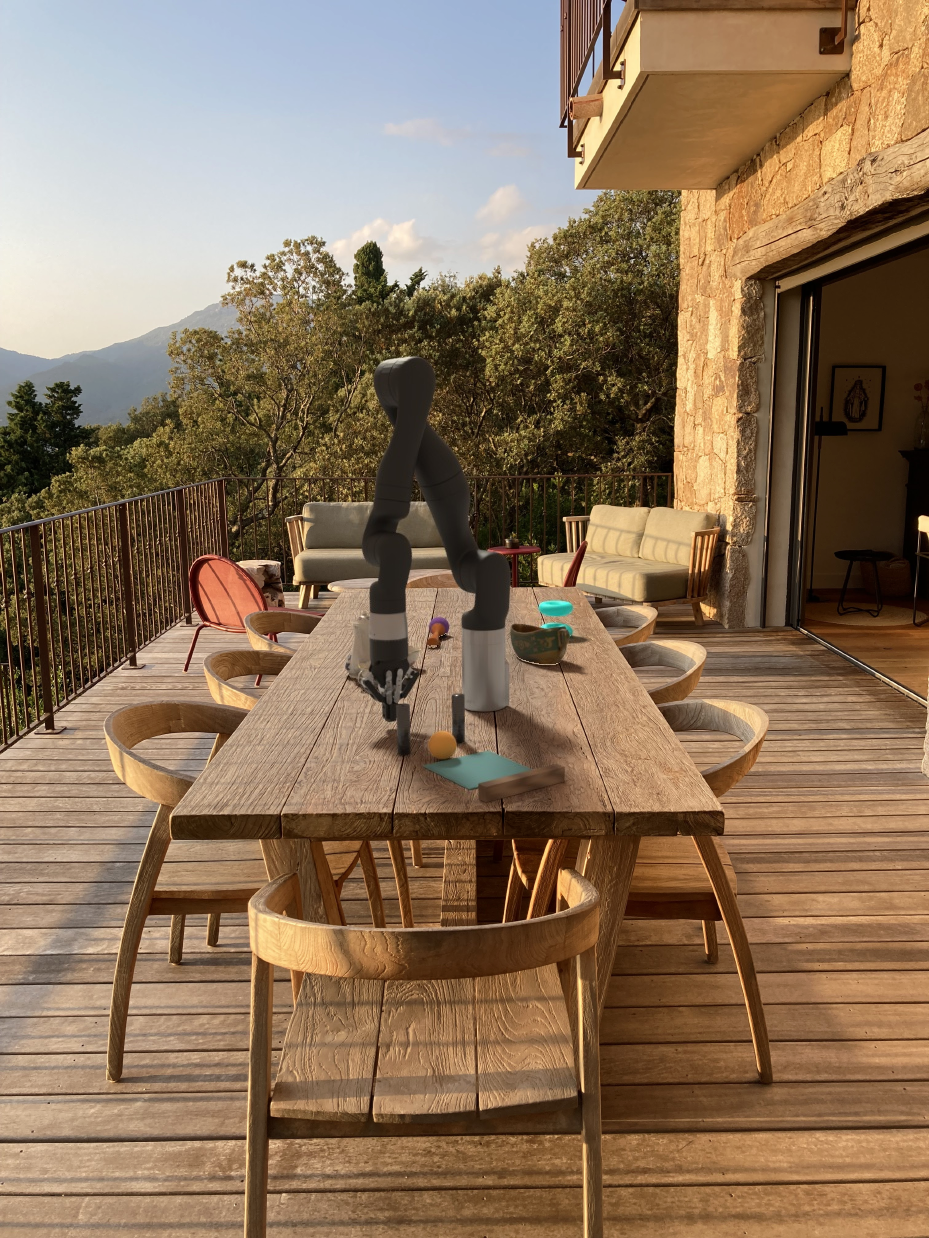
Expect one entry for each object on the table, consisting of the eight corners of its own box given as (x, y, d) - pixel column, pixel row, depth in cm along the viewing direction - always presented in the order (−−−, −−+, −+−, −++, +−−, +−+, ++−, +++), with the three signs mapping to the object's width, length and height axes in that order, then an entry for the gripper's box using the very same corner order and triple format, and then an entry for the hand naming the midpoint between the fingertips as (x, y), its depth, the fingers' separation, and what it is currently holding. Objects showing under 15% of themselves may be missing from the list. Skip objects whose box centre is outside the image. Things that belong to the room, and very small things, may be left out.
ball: (461, 732, 164) (461, 760, 165) (449, 726, 169) (449, 753, 170) (434, 736, 162) (435, 764, 163) (423, 729, 167) (424, 757, 168)
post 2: (460, 738, 178) (459, 692, 176) (467, 741, 176) (467, 695, 174) (449, 741, 176) (449, 694, 175) (456, 744, 174) (456, 697, 173)
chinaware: (391, 699, 213) (397, 628, 210) (322, 688, 216) (327, 618, 213) (424, 671, 240) (429, 607, 237) (362, 661, 243) (366, 599, 240)
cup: (521, 670, 232) (521, 630, 230) (507, 654, 251) (508, 617, 250) (572, 669, 233) (573, 629, 232) (555, 653, 253) (555, 616, 251)
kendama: (419, 635, 259) (428, 616, 278) (424, 655, 260) (432, 635, 279) (440, 631, 258) (447, 613, 277) (445, 651, 259) (452, 632, 278)
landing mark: (488, 751, 170) (488, 750, 170) (536, 772, 159) (536, 771, 159) (422, 766, 162) (422, 765, 162) (469, 789, 151) (469, 788, 151)
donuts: (579, 603, 270) (549, 606, 265) (579, 638, 271) (549, 641, 267) (561, 599, 278) (532, 601, 274) (561, 632, 280) (532, 635, 276)
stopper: (556, 777, 156) (556, 763, 156) (564, 781, 155) (564, 766, 154) (478, 798, 147) (478, 783, 147) (485, 802, 146) (485, 787, 145)
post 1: (406, 750, 171) (405, 702, 170) (413, 753, 169) (412, 705, 168) (395, 752, 170) (393, 704, 168) (401, 756, 168) (400, 707, 166)
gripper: (367, 641, 175) (370, 731, 178) (427, 633, 182) (429, 719, 185) (348, 635, 181) (351, 722, 184) (407, 627, 188) (409, 711, 191)
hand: (390, 720), depth 185 cm, fingers closed
